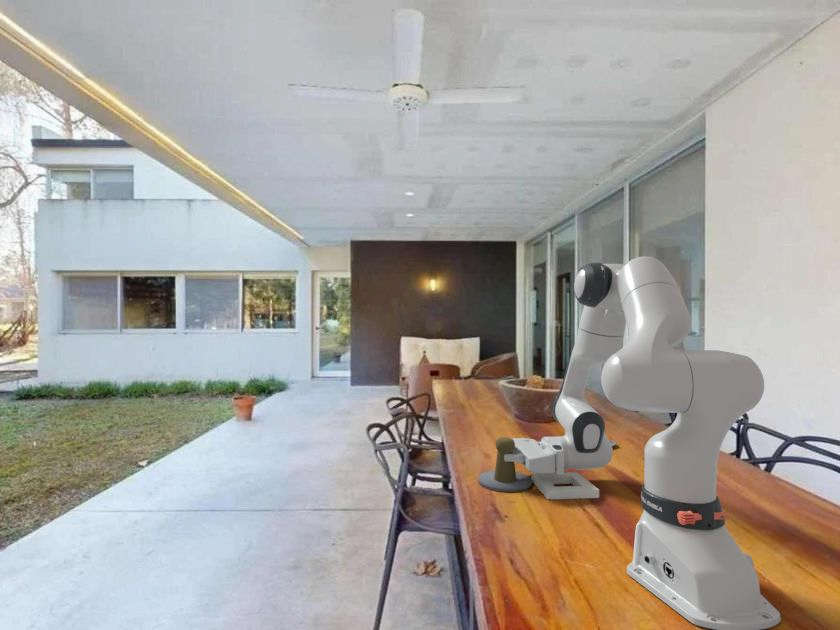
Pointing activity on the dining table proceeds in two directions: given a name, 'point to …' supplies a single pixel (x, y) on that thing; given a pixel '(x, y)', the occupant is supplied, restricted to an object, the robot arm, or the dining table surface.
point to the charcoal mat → (490, 483)
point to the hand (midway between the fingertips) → (501, 454)
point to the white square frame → (577, 491)
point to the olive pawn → (504, 468)
